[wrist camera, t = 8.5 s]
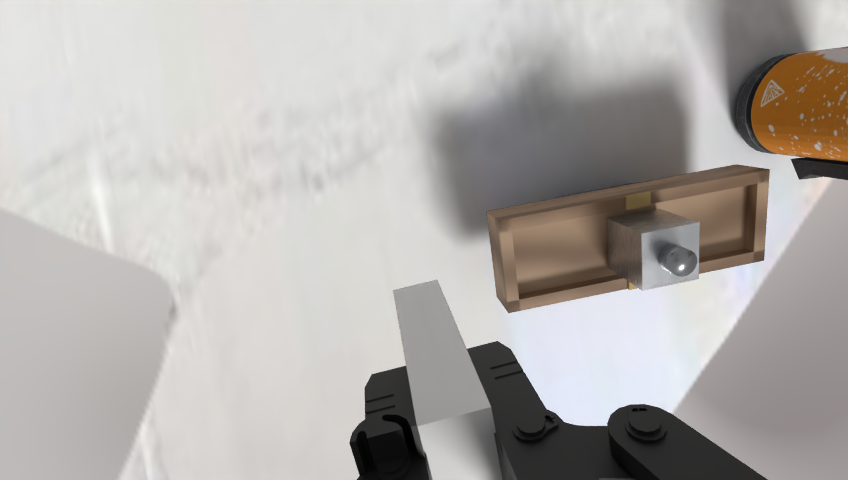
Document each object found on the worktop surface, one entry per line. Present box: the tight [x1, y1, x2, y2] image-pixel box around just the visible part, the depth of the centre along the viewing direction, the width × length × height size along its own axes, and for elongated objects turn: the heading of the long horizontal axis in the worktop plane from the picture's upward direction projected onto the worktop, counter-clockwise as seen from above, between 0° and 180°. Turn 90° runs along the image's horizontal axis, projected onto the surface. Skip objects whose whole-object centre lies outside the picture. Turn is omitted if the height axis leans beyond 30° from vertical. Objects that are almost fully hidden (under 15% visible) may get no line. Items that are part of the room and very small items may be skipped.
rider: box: [606, 208, 700, 290], centre depth 36 cm, size 4×4×6 cm
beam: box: [487, 164, 770, 313], centre depth 41 cm, size 8×23×8 cm, turn 98°
